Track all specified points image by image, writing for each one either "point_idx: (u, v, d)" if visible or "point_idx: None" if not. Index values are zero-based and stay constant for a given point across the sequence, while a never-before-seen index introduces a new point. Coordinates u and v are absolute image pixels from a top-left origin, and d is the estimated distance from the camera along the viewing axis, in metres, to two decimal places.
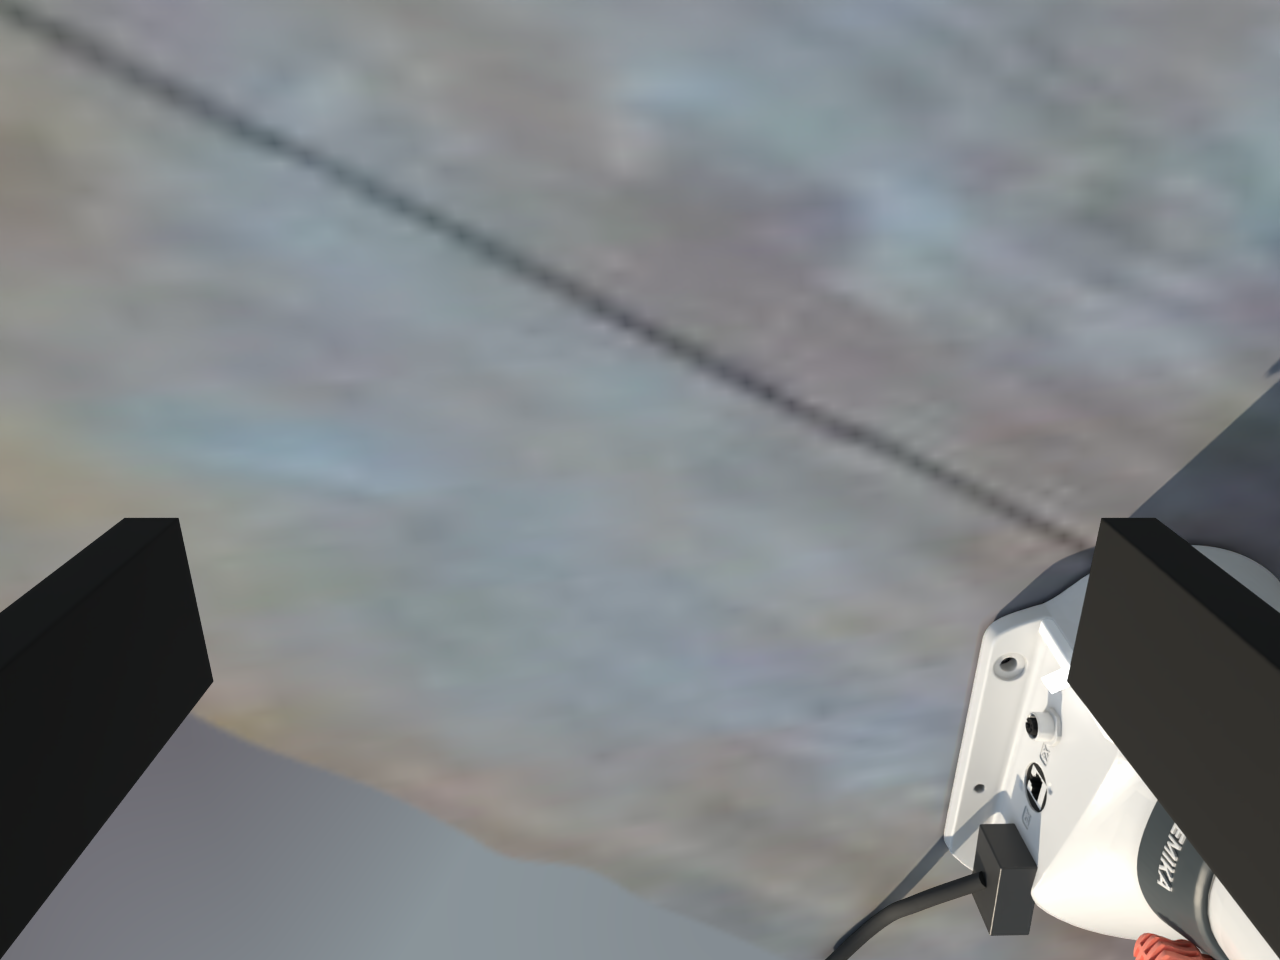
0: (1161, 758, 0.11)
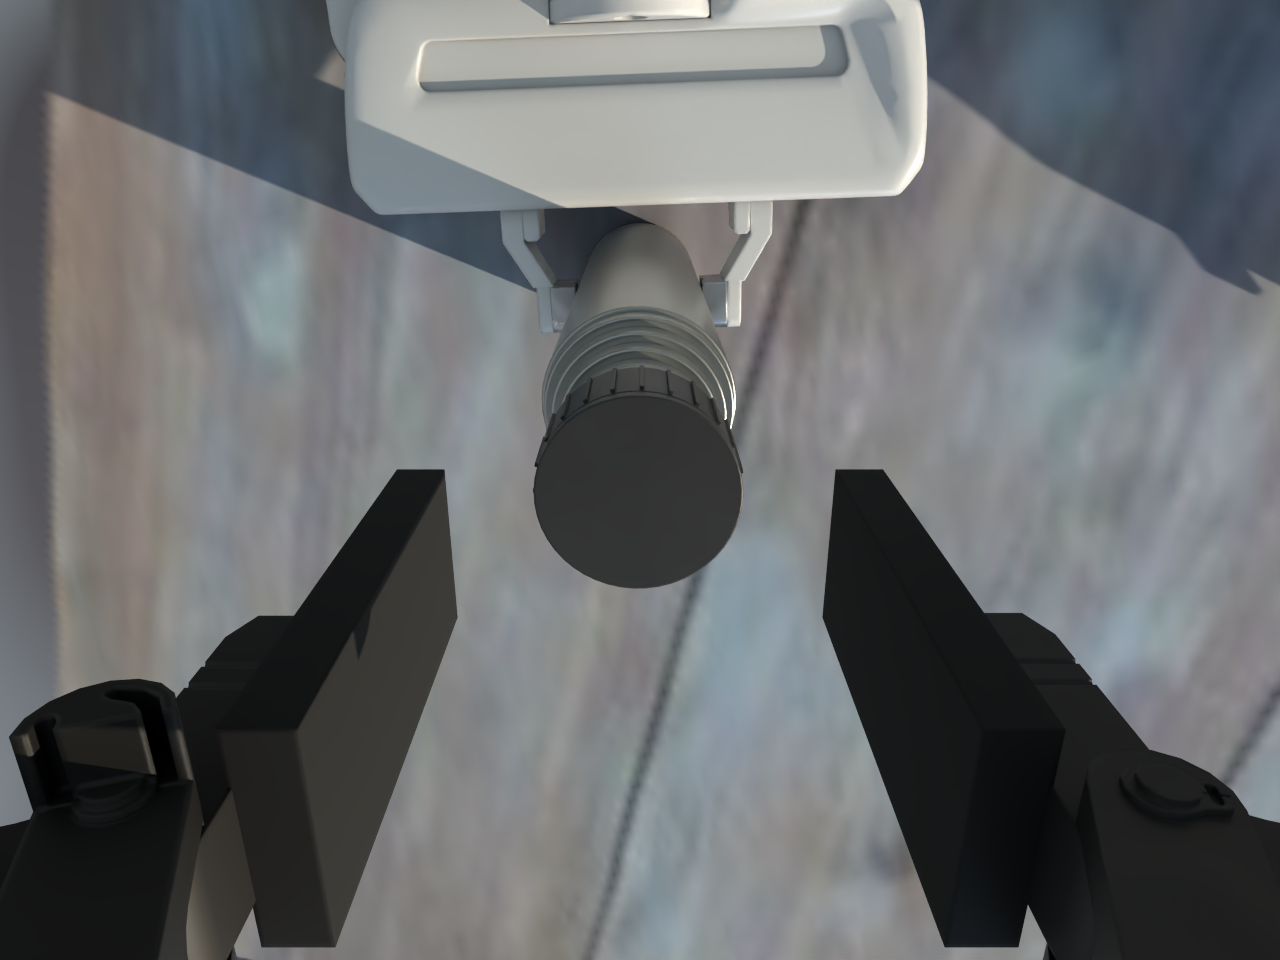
0: (857, 671, 0.13)
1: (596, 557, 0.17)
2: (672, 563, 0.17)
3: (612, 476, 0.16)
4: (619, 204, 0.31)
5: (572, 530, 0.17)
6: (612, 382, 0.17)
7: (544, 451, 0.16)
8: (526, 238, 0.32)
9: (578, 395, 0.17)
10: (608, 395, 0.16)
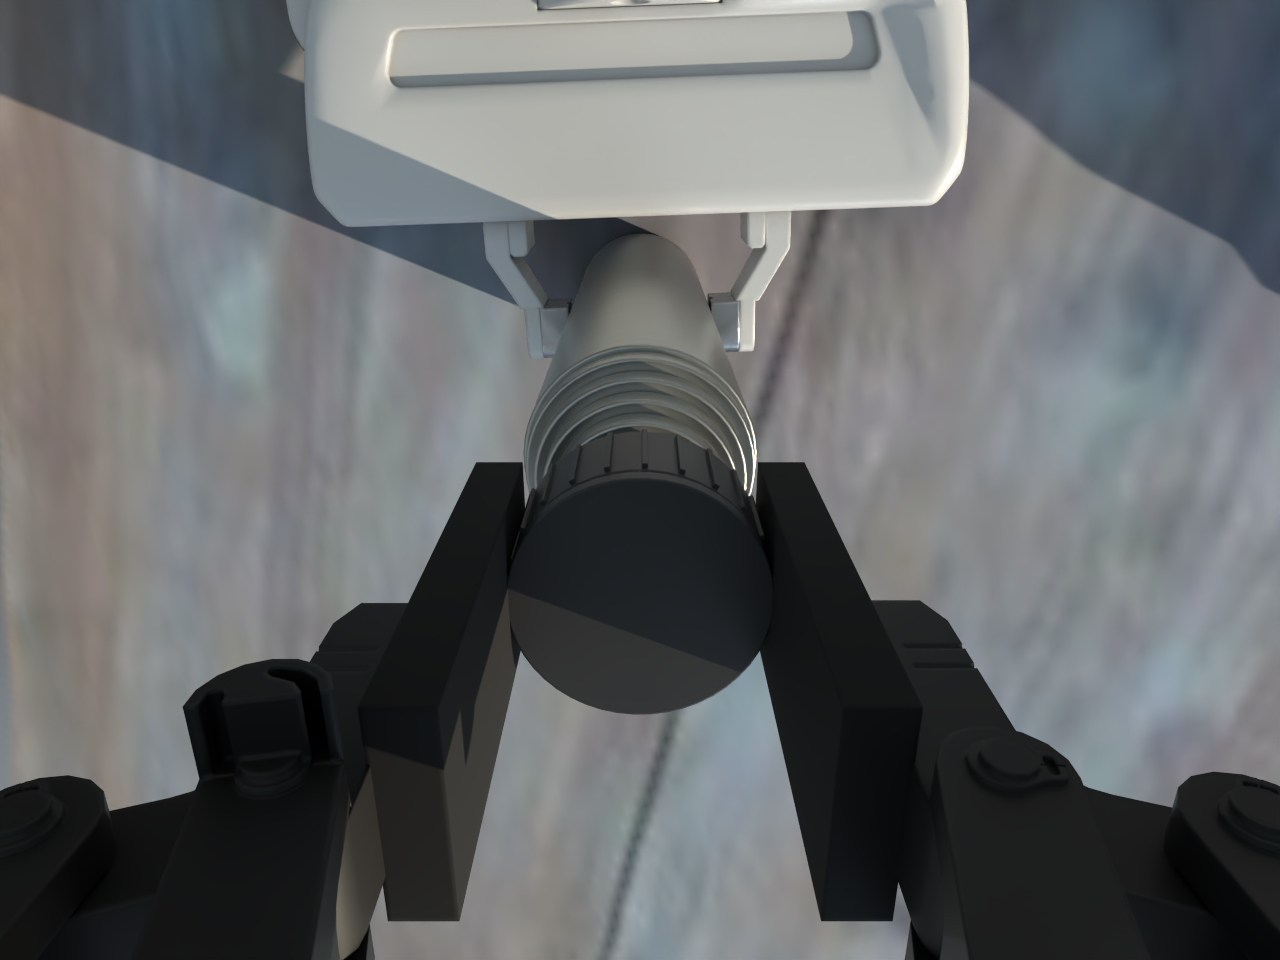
0: (770, 659, 0.13)
1: (586, 677, 0.13)
2: (683, 685, 0.13)
3: (607, 579, 0.13)
4: (617, 215, 0.28)
5: (555, 644, 0.13)
6: (606, 456, 0.13)
7: (518, 548, 0.12)
8: (512, 253, 0.28)
9: (563, 469, 0.13)
10: (601, 476, 0.12)
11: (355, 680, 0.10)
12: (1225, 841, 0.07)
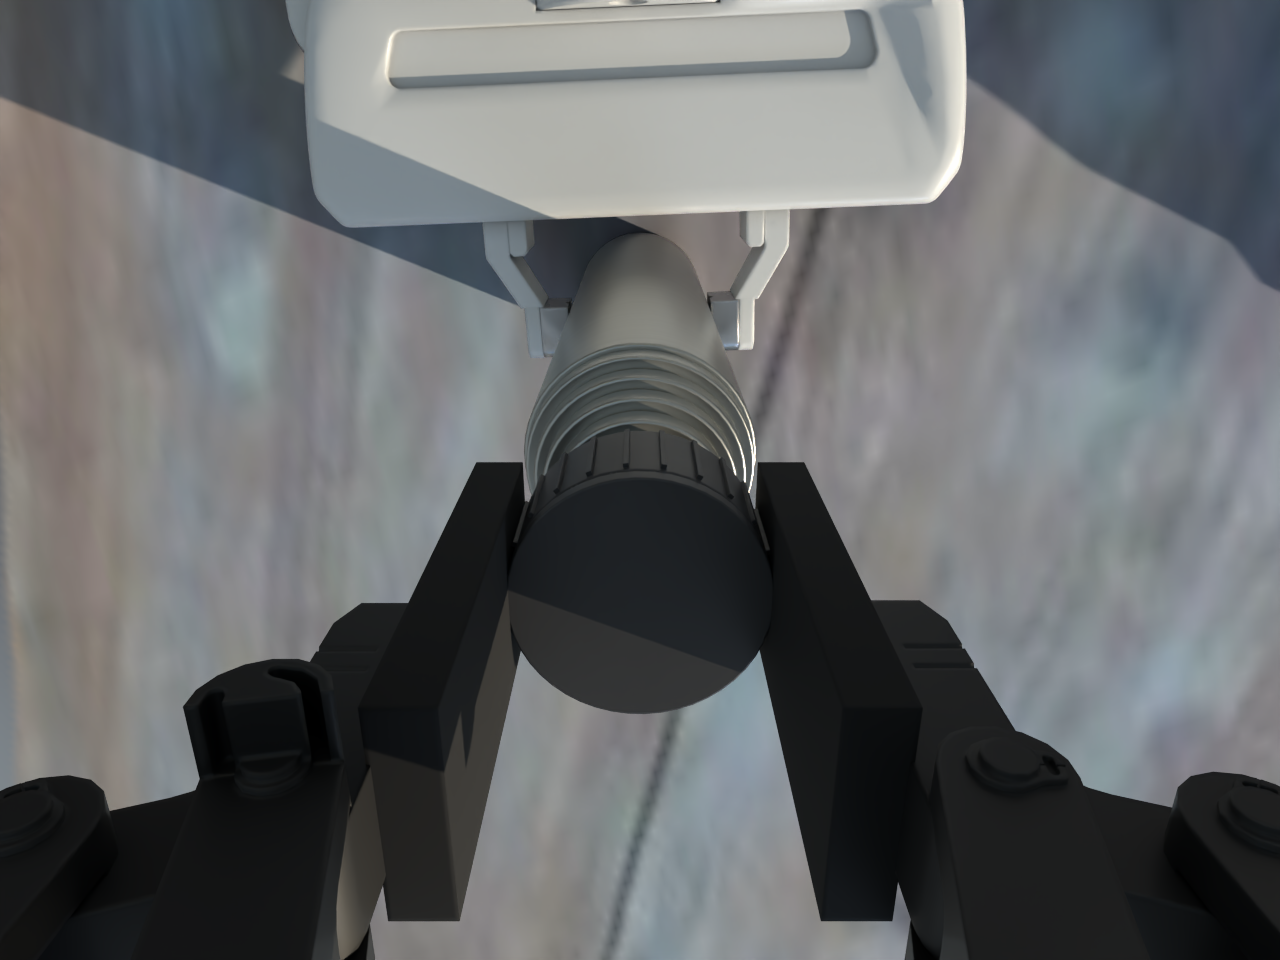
0: (770, 659, 0.13)
1: (742, 611, 0.13)
2: (706, 527, 0.12)
3: (630, 639, 0.13)
4: (617, 214, 0.28)
5: (720, 650, 0.13)
6: None
7: None
8: (512, 253, 0.29)
9: None
10: None
11: (355, 680, 0.10)
12: (1225, 840, 0.07)
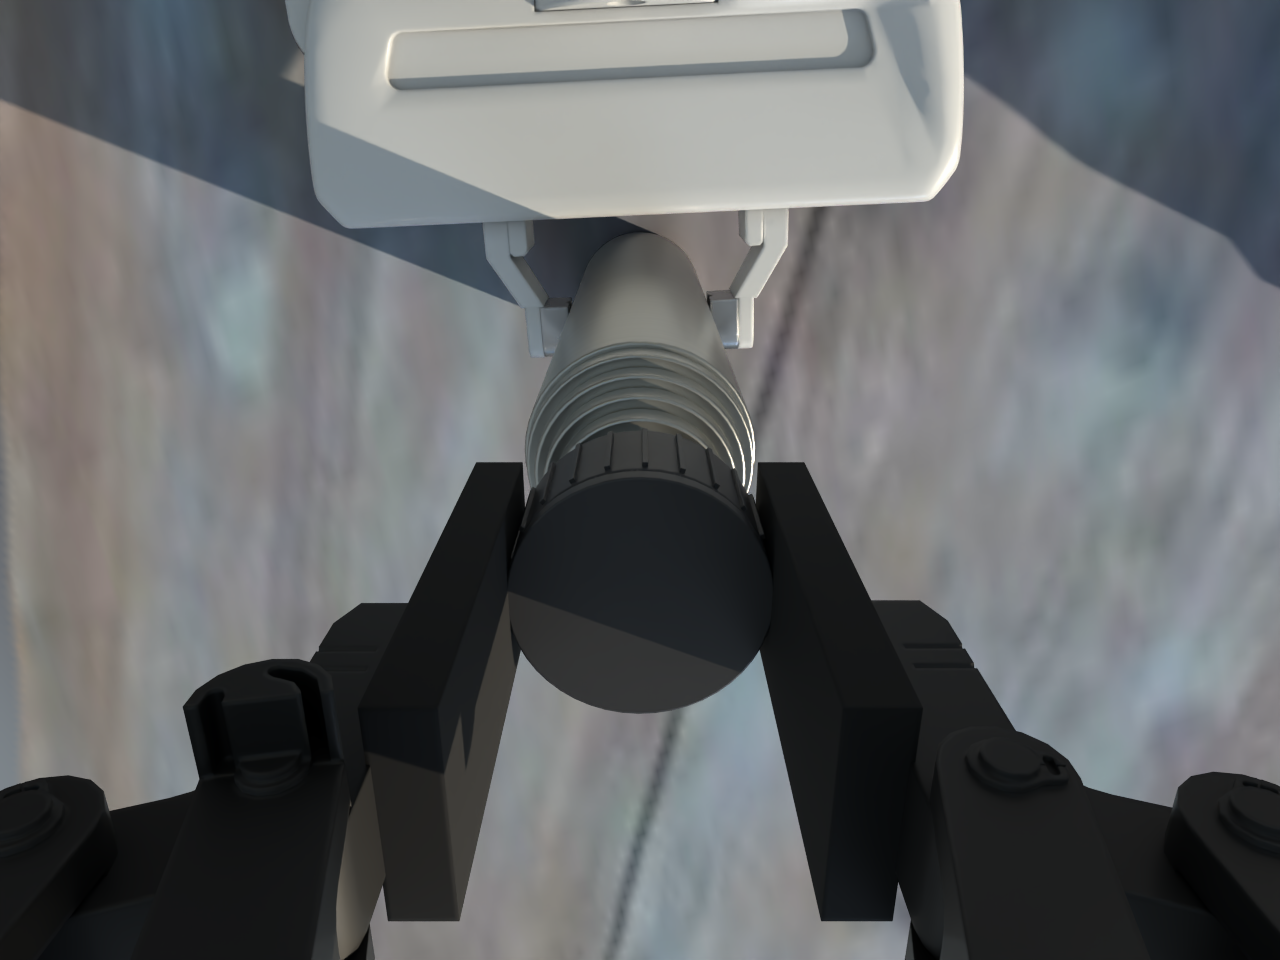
0: (770, 659, 0.13)
1: (599, 515, 0.12)
2: (535, 586, 0.13)
3: (682, 593, 0.13)
4: (616, 214, 0.28)
5: (651, 513, 0.12)
6: None
7: (762, 548, 0.12)
8: (512, 253, 0.29)
9: None
10: None
11: (355, 680, 0.10)
12: (1225, 840, 0.07)
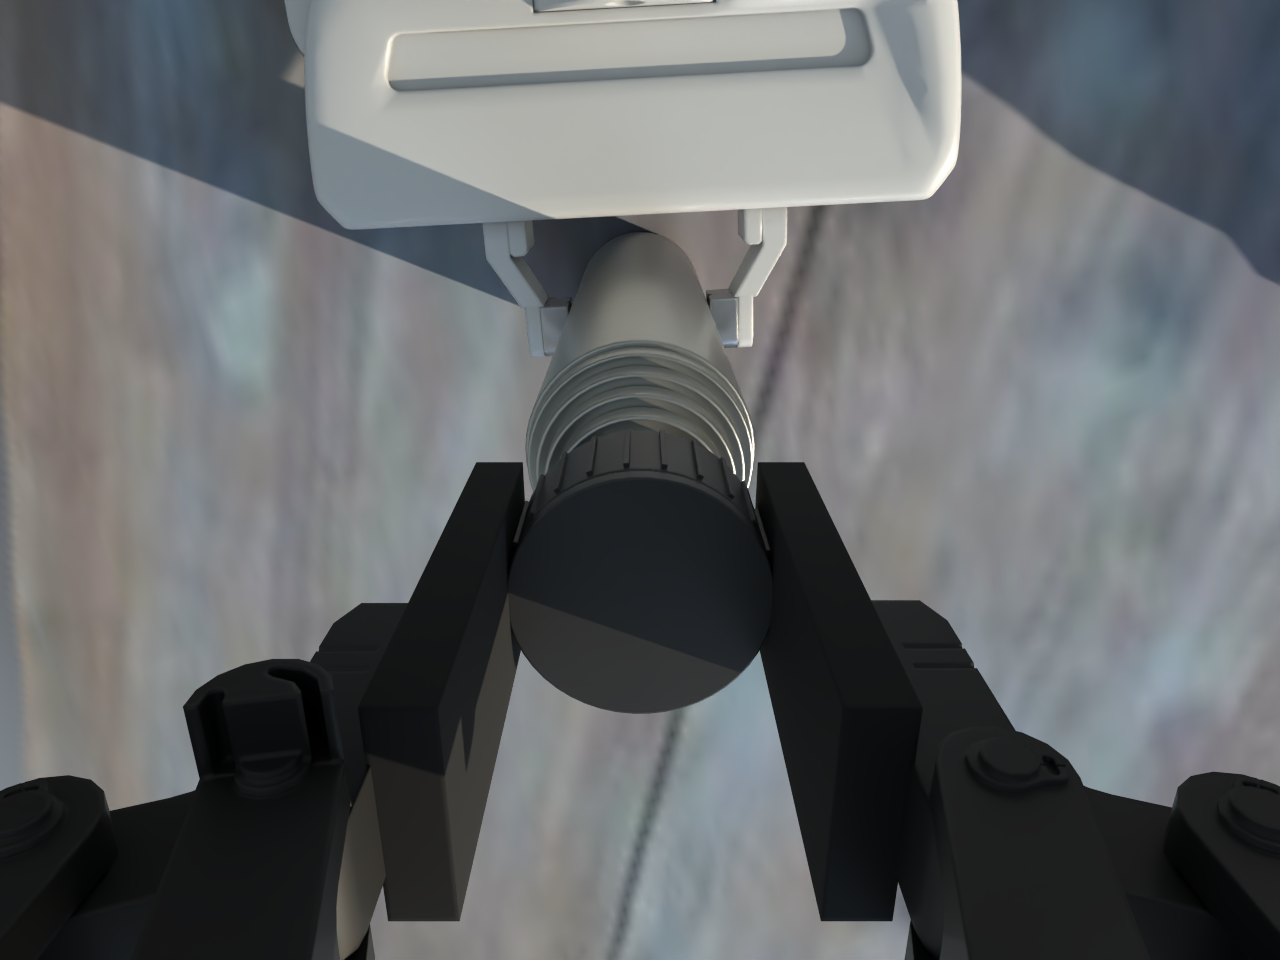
0: (770, 659, 0.13)
1: (575, 669, 0.13)
2: (670, 688, 0.13)
3: (611, 574, 0.13)
4: (615, 214, 0.28)
5: (549, 633, 0.13)
6: (625, 452, 0.13)
7: (528, 532, 0.12)
8: (512, 253, 0.29)
9: (578, 460, 0.13)
10: (620, 471, 0.12)
11: (355, 680, 0.10)
12: (1225, 841, 0.07)
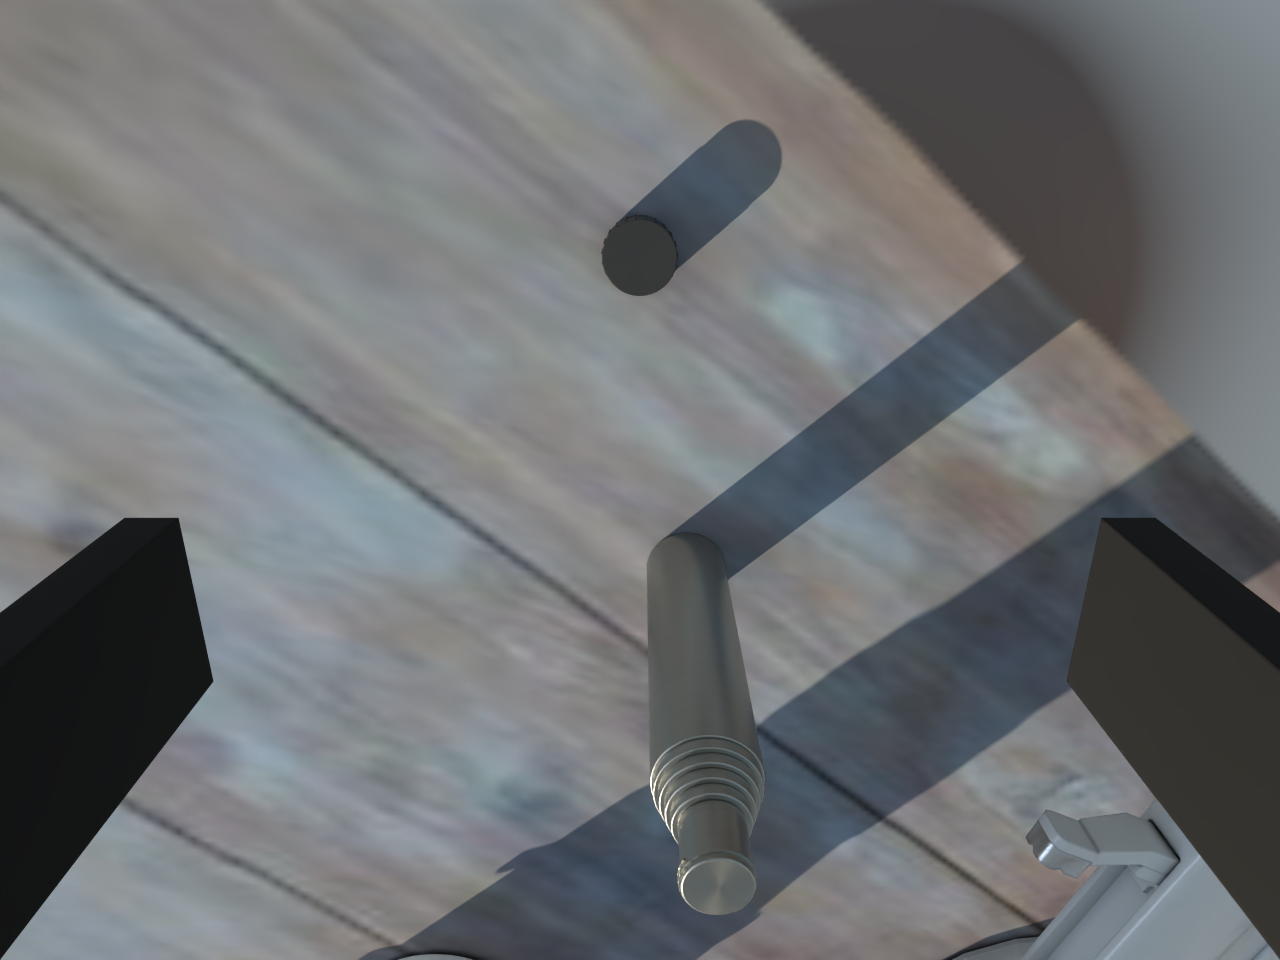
0: (1161, 758, 0.11)
1: (621, 280, 0.46)
2: (648, 286, 0.47)
3: (631, 249, 0.46)
4: None
5: (614, 268, 0.46)
6: (635, 216, 0.46)
7: (609, 235, 0.46)
8: (1142, 868, 0.35)
9: (621, 221, 0.47)
10: (634, 219, 0.46)
11: None
12: None
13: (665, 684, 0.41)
